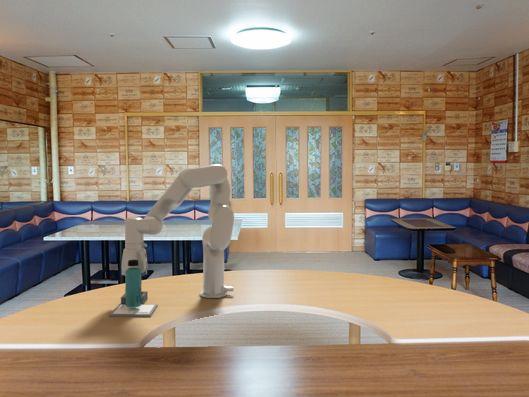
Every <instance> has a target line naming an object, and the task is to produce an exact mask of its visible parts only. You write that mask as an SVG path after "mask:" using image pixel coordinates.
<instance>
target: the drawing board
mask: <svg viewBox="0 0 529 397" xmlns="http://www.w3.org/2000/svg"><path fill="white" fill-rule="evenodd" d="M158 307H159V305H158V304H146V303H144V304H141V306H139V307H135V308H129V307H126V305H125V304H121V303H120V304H118V305H117V306H116V307H115V308H114V309H113V310H112V311H111V313H109V315H108V316H109V317H108V318H114V317H115V318H151V317H152V316H153V314H154V313H155V311H156V310H157V308H158Z"/></svg>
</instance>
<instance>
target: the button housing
mask: <svg viewBox="0 0 529 397" xmlns="http://www.w3.org/2000/svg"><path fill="white" fill-rule="evenodd" d="M141 291H142V290H141ZM141 293H142V295H141V297H142V304H146V302H147V301H148V291H145V290H144V291H142V292H141ZM125 299H126V296H125V293H124V294H122V296H121V297H120V304H125V303H126V302H125V301H126V300H125Z"/></svg>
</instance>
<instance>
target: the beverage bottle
mask: <svg viewBox="0 0 529 397" xmlns="http://www.w3.org/2000/svg"><path fill="white" fill-rule="evenodd" d="M138 265H139V264H138V260H129V261H128V266H138ZM124 276H125V287H124V292H125V293H124V294H125V296H126V299H125V300H126V301H125V302H126V303H125V305H126V307H129V308H135V307H139V306H141V304H142V297H141V295H142V293H141V292H142V290H143V289H142V284H143V283H142V276H141V270H140V269H139V268H135V267H133V268H128V269H127V270H126V271H125V275H124Z"/></svg>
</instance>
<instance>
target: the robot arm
mask: <svg viewBox="0 0 529 397" xmlns="http://www.w3.org/2000/svg"><path fill="white" fill-rule="evenodd" d="M208 186H210V187H211V194H210V195H211V197H210V204H209V207H208V213H207V216H208V219H209V221H210V222H211V226H209V227H207V228H206V229H205V230H204V231H203V233H202V239H201V240H202V250H203V264H202V267H203V268H202V269H203V272H202V273H203V275H202V282H203V284H202V290H200V292H199V296H200V297H202V298H207V299H219V298H220V299H221V298H224V297H226V296H227V295H228V292H234V289H235V288H234V287H233V286H230V285H229V286H226V283H225V250H226V248H228V246H230V242H231V238H232V233H233V228H234V222H235V215H234V214H235V213H234V210H233V209H232V207H230V201H231V200H230V198H231V184H230V181H229V179H228V170H227V169H226V167H225V166H223V165H222V164H215V163H214V164H212V163H211V164H208V165H205V166H201V167H193V168H189V167H188V168H184V169H183V170H181V172H179V174H178V175H177V177H176V178H175V179H174V180H173V182H172V183H171V184H170V186H169V187H168V188H167V190H165V192H163V194H162V195H161V197H160V198H159V199H158V200H157V201H156V202H155V203H154V205H153V206H152V207H151V208H150V209H149V211H148V212H147V214H145V216H144V218H142V217H137V216H133V217H132V216H131V217H127V218H125V221H124V225H125V226H124V230H125V231H124V232H125V233H124V239H125V240H124V243H125V244H124V245H125V246H124V247H125V248H123V252H122V258H121V275H122V276H125V271H126V270H127V269H128V268H133V267H135V268H139V269H140V270H141V277H143V276H147V274H148V257H147V250H146V249H145V248H147V247H148V244H147V243H145V242H144V235H148V236H153V235H154V236H155V235H158V234H160V233H161V232H162V230H163V229H164V228H163V227H164V226H163V221H164V220H165V218H166V217H168V215H169V214H170V213H171V212H172V211H174V210H175V209H177V208H178V207H180V206H181V205H182V203H183V202H184V201H185V200H186V198H187V197H188V196H189V195H190V193H191V191H192V190H193V189H196V188H197V189H198V188H204V187H208ZM129 260H138V264H139V265H138V266H128V261H129Z"/></svg>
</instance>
